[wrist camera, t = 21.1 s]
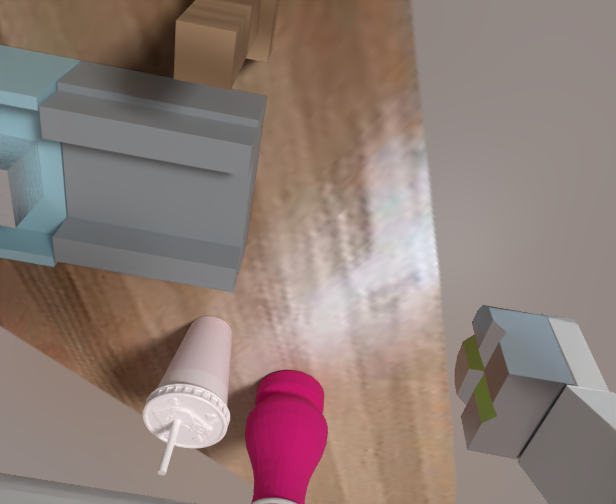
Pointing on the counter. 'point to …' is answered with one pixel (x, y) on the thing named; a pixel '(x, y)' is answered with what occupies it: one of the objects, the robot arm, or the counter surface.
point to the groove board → (154, 174)
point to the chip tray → (26, 124)
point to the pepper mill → (285, 436)
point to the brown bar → (222, 39)
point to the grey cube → (18, 179)
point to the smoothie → (193, 391)
